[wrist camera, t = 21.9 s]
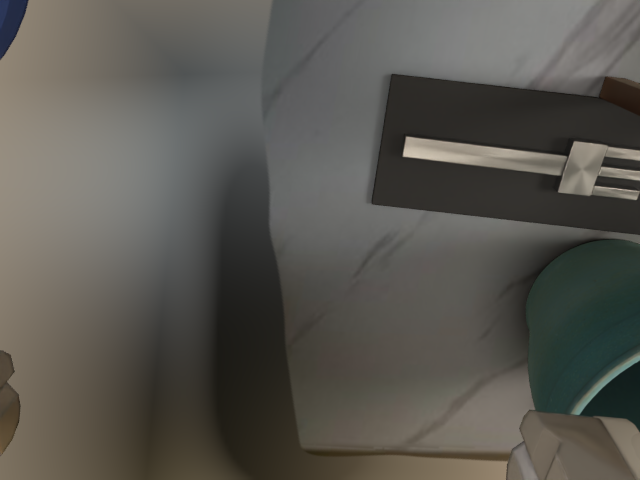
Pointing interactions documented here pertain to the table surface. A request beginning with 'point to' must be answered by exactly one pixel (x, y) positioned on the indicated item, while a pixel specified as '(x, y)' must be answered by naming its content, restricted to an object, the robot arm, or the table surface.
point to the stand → (622, 93)
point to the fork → (539, 162)
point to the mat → (506, 130)
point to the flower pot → (587, 332)
